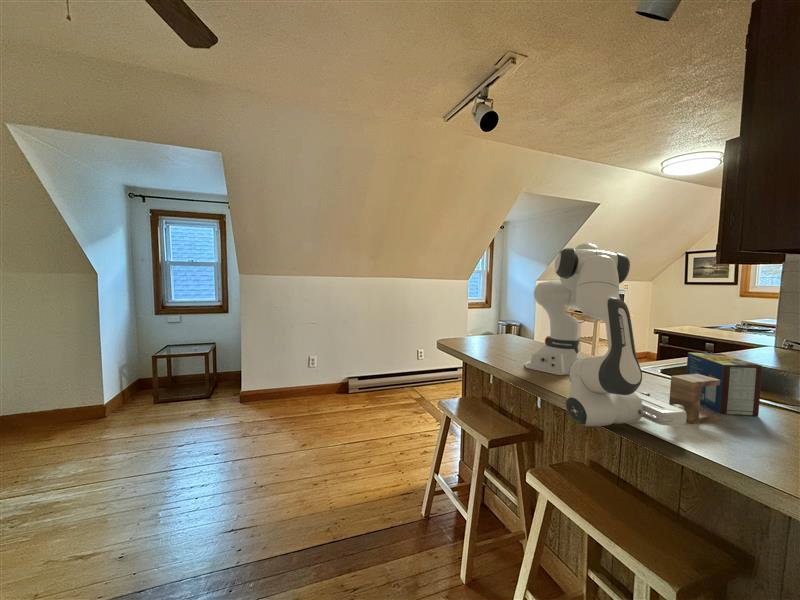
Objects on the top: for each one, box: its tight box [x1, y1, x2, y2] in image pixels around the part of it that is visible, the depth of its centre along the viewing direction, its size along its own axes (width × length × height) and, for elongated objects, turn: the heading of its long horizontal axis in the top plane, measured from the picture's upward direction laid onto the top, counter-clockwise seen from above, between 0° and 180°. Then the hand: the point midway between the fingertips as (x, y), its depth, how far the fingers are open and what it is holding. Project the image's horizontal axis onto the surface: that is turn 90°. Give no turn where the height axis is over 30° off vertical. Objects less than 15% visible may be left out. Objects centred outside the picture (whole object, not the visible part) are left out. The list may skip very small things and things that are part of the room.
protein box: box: [685, 352, 763, 417], centre depth 105 cm, size 10×15×16 cm
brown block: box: [668, 374, 720, 425], centre depth 96 cm, size 10×6×12 cm, turn 103°
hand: (663, 401), depth 94 cm, fingers open, 8 cm apart
